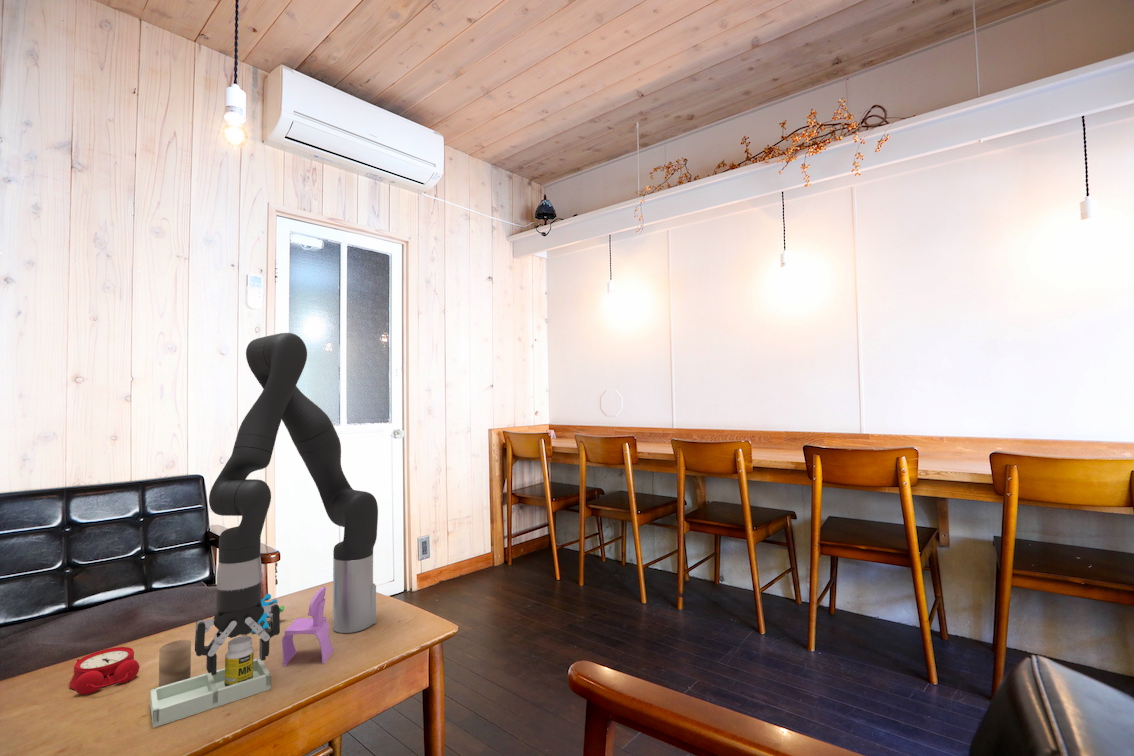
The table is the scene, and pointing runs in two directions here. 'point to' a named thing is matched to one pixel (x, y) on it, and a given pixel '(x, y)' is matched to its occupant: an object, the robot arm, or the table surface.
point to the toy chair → (309, 629)
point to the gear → (264, 616)
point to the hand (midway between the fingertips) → (238, 666)
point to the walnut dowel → (174, 662)
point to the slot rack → (203, 694)
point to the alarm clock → (104, 669)
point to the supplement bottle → (239, 660)
